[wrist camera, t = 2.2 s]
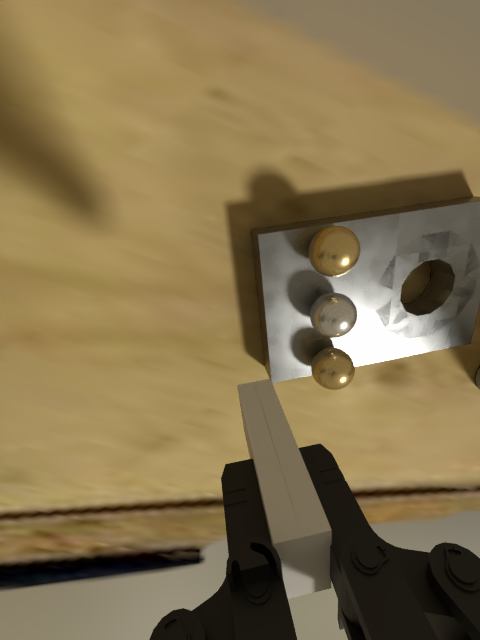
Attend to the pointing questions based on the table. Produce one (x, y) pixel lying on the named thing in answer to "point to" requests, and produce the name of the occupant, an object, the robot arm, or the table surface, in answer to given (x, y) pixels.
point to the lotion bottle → (478, 378)
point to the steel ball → (333, 315)
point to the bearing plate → (371, 285)
